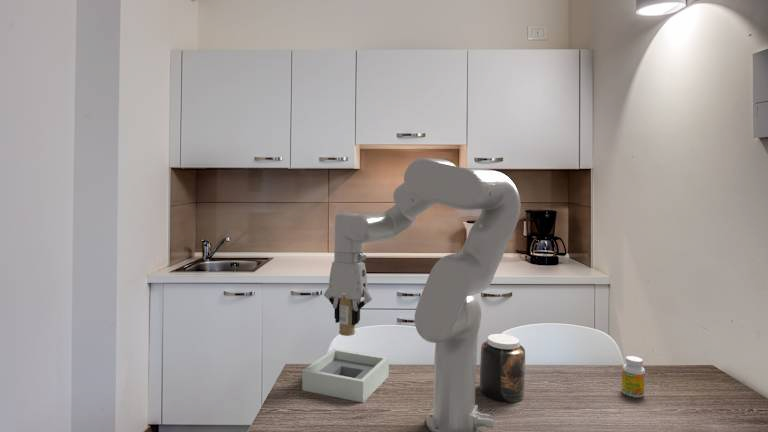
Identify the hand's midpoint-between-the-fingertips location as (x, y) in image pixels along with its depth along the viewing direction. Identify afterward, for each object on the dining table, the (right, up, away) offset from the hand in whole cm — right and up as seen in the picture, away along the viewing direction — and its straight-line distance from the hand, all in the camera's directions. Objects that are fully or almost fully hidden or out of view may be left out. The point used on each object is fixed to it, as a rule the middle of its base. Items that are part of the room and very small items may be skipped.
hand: (347, 321), depth 131 cm
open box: (0, -17, +1) cm, 17 cm away
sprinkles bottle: (0, -4, 0) cm, 4 cm away
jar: (+42, -19, -4) cm, 46 cm away
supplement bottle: (+78, -19, -3) cm, 80 cm away
